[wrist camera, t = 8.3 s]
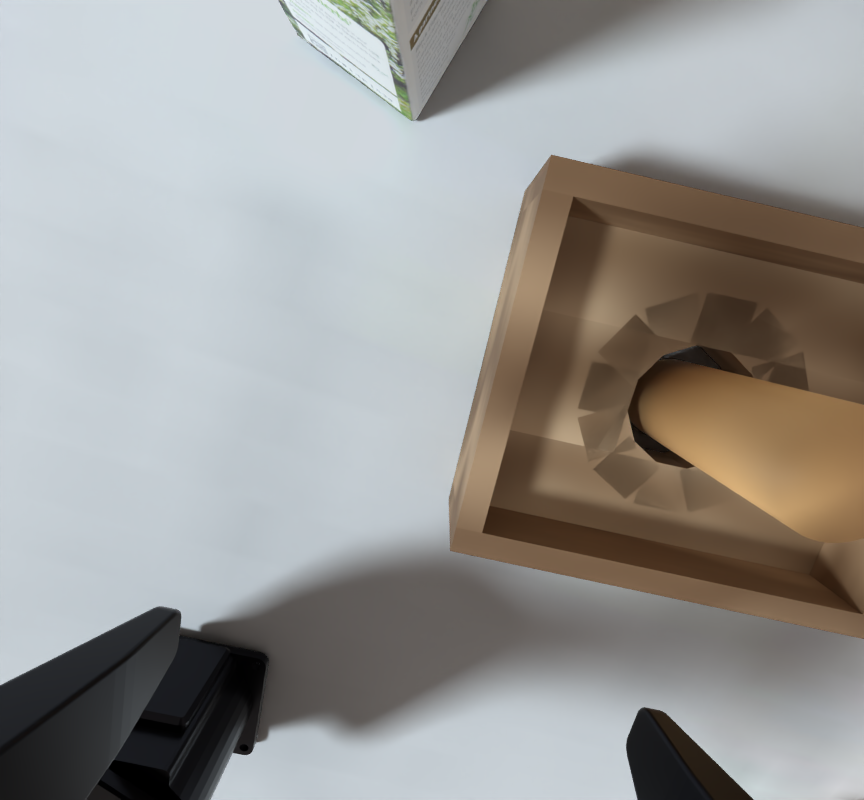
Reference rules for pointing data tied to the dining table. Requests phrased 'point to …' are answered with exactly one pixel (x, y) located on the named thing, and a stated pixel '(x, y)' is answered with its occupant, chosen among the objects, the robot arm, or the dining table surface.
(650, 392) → the peg
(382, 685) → the dining table surface
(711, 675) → the dining table surface
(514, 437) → the crate
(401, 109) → the syrup box
